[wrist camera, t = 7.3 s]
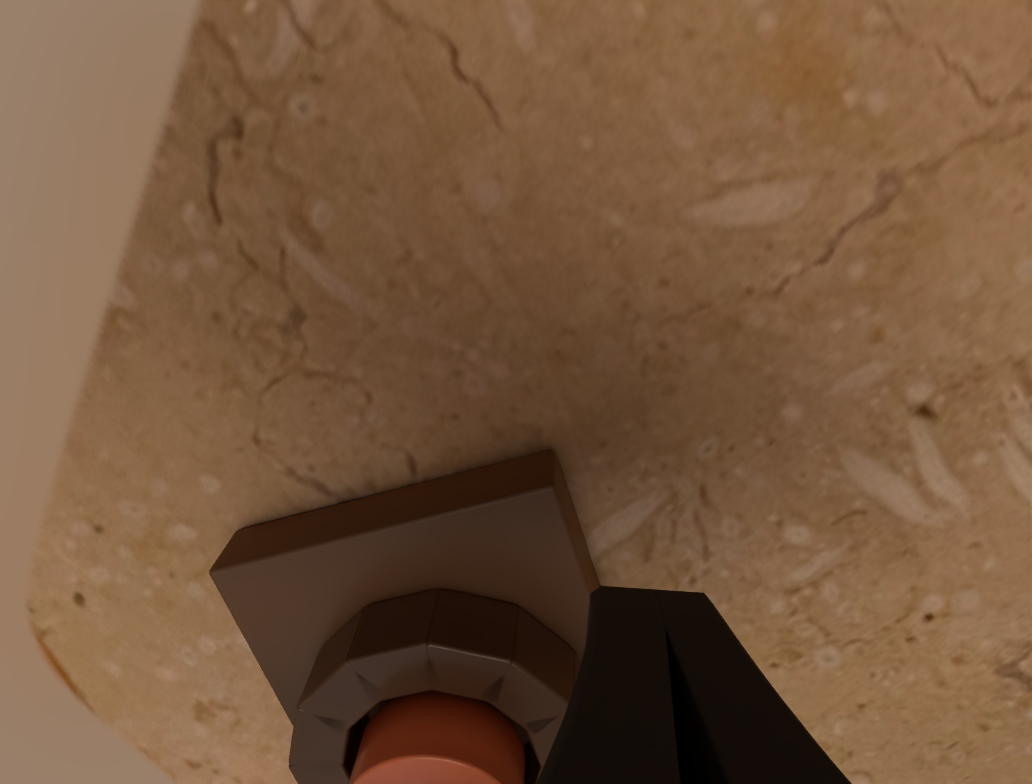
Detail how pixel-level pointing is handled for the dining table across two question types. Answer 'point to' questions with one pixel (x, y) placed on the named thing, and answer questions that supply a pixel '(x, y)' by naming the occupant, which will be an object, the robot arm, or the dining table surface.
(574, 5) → the dining table surface
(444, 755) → the button
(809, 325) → the dining table surface
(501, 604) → the button block
